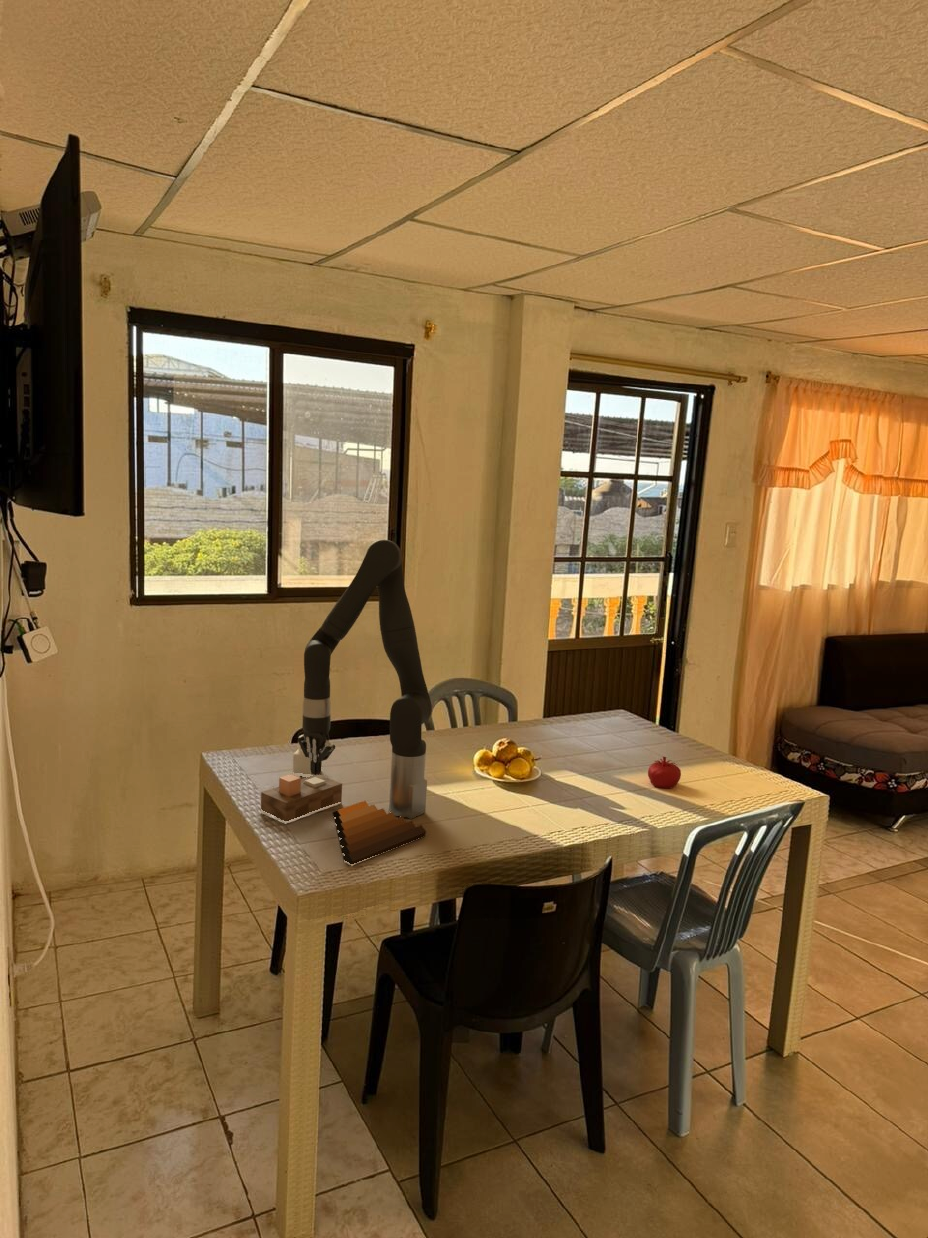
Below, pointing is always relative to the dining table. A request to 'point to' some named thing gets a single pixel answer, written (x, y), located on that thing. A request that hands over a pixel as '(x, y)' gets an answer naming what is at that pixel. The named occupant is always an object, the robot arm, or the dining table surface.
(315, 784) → the beige rectangular block
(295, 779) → the orange-brown rectangular block
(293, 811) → the board
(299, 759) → the medicine bottle
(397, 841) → the pan flute
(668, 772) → the pomegranate
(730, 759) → the dining table surface
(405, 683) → the robot arm
